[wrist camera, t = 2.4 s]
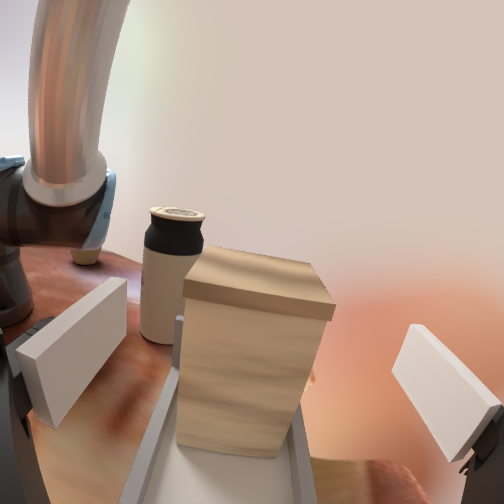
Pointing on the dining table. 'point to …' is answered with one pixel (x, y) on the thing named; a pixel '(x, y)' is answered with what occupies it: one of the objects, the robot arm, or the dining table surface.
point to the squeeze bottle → (85, 256)
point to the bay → (213, 462)
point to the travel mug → (167, 269)
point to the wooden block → (246, 349)
